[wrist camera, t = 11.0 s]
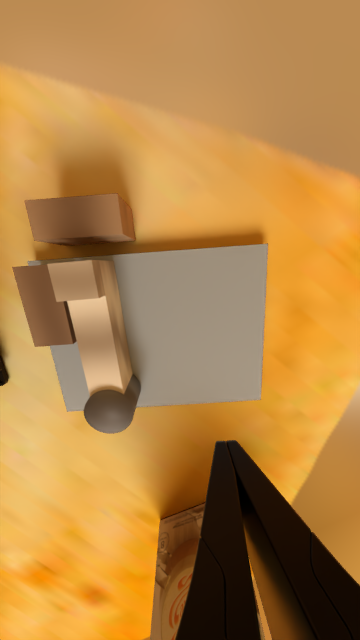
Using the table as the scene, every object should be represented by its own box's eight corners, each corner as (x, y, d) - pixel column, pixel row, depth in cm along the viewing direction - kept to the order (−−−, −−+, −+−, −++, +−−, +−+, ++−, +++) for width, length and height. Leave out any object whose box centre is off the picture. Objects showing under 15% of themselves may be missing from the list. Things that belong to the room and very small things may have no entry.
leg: (143, 403, 20) (134, 439, 16) (104, 406, 20) (85, 443, 16) (121, 260, 17) (100, 259, 12) (73, 264, 17) (37, 264, 12)
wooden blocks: (63, 330, 19) (34, 346, 16) (36, 217, 17) (-7, 202, 13) (145, 324, 19) (137, 339, 15) (131, 209, 17) (117, 193, 13)
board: (72, 404, 22) (67, 411, 21) (35, 261, 18) (27, 261, 17) (257, 393, 21) (260, 399, 20) (263, 244, 17) (267, 243, 16)
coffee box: (219, 494, 25) (281, 852, 10) (240, 524, 27) (323, 875, 11) (157, 519, 27) (127, 873, 11) (181, 546, 28) (184, 891, 13)
